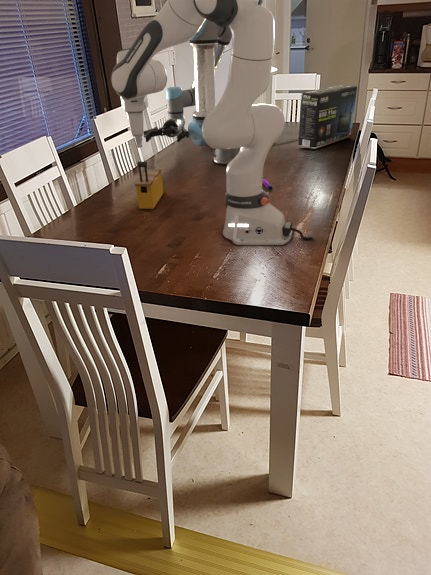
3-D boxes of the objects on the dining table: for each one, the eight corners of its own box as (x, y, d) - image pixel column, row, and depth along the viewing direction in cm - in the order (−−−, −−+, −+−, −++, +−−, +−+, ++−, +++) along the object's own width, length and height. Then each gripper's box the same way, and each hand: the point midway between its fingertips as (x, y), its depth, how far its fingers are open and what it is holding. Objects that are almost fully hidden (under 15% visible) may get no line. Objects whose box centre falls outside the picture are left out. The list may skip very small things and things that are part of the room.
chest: (153, 208, 171) (150, 185, 167) (138, 208, 172) (135, 185, 167) (163, 193, 186) (161, 171, 181) (149, 193, 186) (147, 171, 182)
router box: (314, 151, 231) (318, 94, 217) (296, 148, 237) (299, 92, 224) (352, 138, 251) (358, 85, 238) (335, 135, 258) (340, 83, 245)
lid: (150, 186, 166) (147, 163, 162) (135, 186, 166) (132, 164, 162) (161, 171, 181) (159, 150, 177) (147, 171, 182) (144, 150, 178)
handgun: (242, 177, 199) (242, 173, 198) (259, 175, 200) (259, 171, 199) (254, 192, 182) (254, 188, 181) (273, 190, 183) (273, 185, 182)
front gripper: (126, 98, 163) (131, 137, 170) (124, 107, 145) (130, 151, 152) (144, 96, 163) (148, 136, 170) (144, 106, 146) (149, 150, 153)
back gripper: (199, 135, 212) (191, 148, 194) (146, 135, 215) (134, 147, 197) (198, 118, 208) (190, 129, 191) (145, 118, 211) (132, 129, 193)
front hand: (139, 144), depth 161 cm, fingers open, 8 cm apart
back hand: (162, 138), depth 194 cm, fingers open, 13 cm apart
